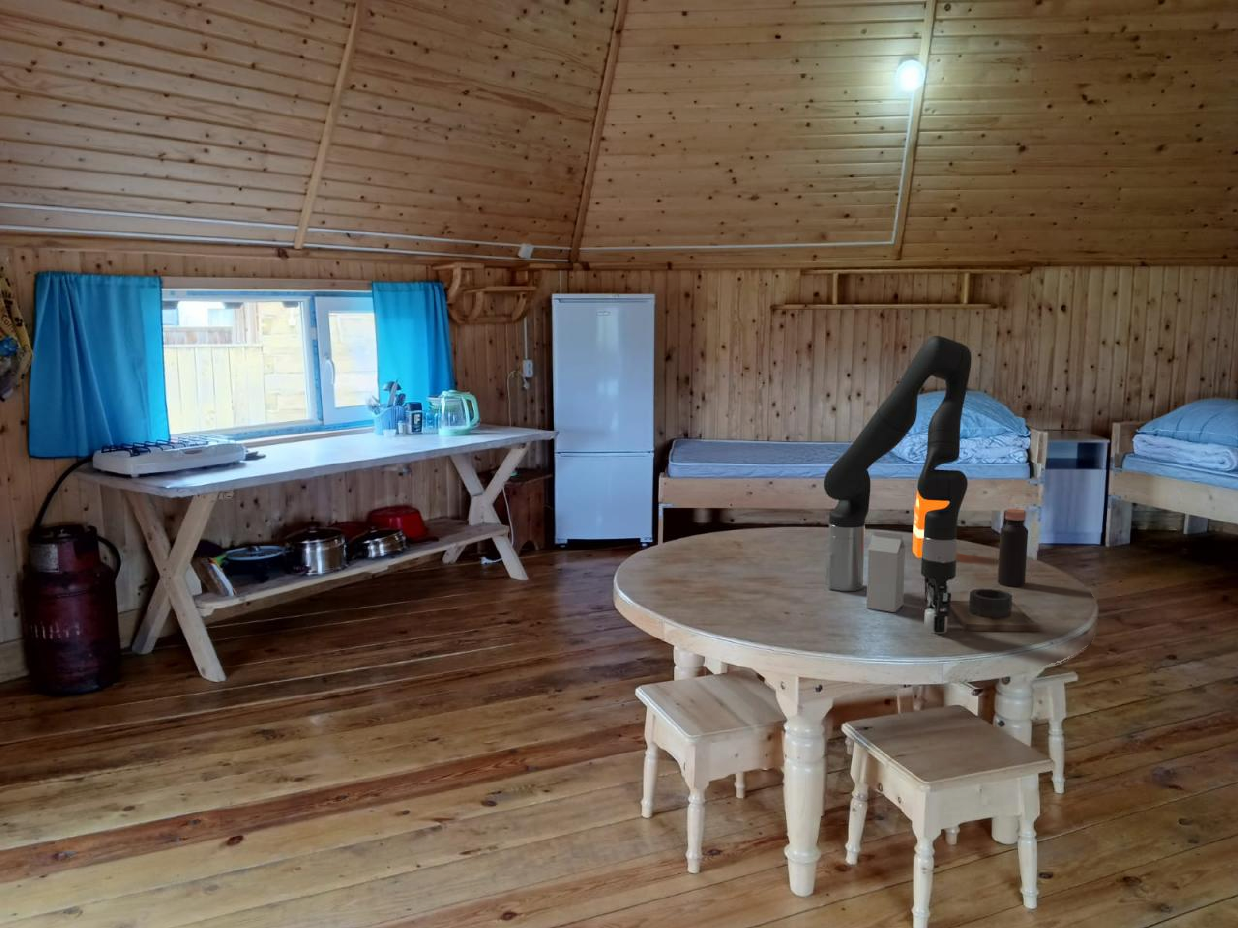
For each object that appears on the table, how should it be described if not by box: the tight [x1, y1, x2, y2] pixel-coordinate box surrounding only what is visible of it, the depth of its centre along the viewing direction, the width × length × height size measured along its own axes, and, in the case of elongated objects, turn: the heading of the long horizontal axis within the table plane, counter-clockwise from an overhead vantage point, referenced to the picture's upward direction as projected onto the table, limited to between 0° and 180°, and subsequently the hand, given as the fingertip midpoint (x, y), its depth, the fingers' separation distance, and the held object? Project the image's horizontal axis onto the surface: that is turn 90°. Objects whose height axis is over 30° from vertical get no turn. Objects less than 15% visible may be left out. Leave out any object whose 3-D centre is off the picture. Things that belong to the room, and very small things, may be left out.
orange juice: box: [912, 490, 950, 559], centre depth 282 cm, size 8×9×20 cm
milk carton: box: [866, 530, 906, 613], centre depth 233 cm, size 7×7×19 cm
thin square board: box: [949, 588, 1039, 633], centre depth 225 cm, size 16×18×6 cm
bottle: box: [997, 508, 1029, 588], centre depth 252 cm, size 7×7×20 cm
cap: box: [923, 608, 949, 635], centre depth 217 cm, size 5×5×4 cm
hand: (935, 627), depth 217 cm, fingers open, 5 cm apart
